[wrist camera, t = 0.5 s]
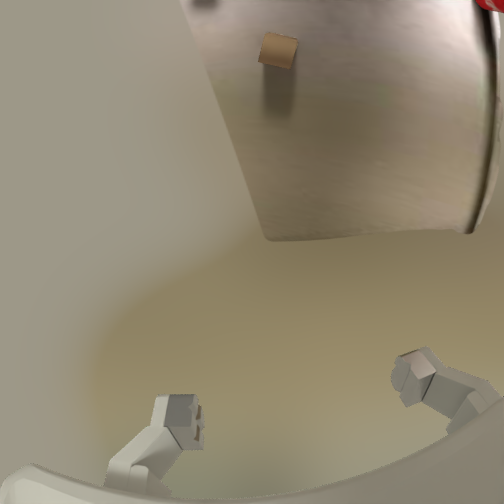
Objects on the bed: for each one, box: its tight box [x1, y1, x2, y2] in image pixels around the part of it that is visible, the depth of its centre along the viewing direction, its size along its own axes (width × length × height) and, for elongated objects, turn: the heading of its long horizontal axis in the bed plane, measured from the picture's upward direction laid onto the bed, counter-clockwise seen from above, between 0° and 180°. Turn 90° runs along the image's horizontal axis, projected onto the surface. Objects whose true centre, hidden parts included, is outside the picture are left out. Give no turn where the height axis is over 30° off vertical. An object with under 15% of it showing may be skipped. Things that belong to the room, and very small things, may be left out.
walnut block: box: [258, 32, 298, 69], centre depth 36 cm, size 5×5×11 cm
